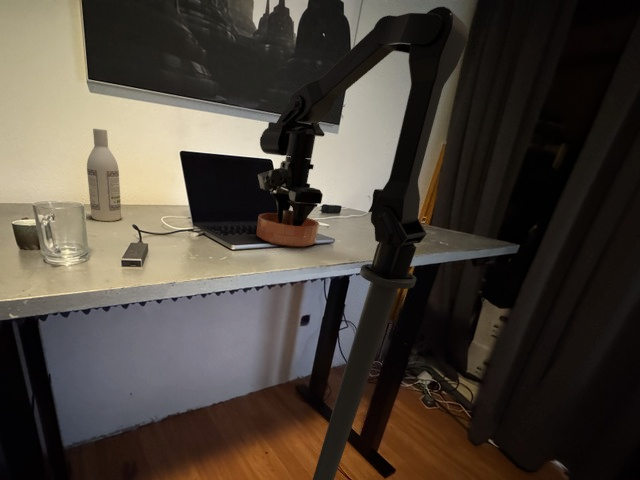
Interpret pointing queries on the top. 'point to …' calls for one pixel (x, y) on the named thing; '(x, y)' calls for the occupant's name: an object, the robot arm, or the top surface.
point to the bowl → (286, 231)
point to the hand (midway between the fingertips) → (287, 227)
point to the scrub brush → (287, 217)
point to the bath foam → (103, 180)
